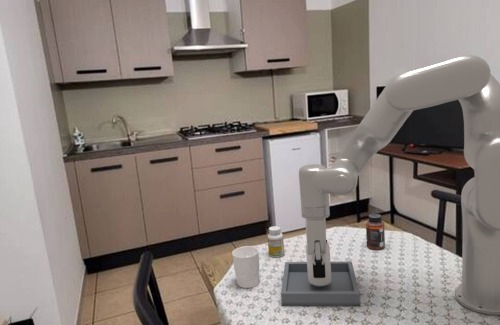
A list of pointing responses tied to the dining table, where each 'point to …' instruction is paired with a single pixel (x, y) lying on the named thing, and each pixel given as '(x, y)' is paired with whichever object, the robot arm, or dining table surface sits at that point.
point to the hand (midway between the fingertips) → (319, 271)
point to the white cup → (246, 266)
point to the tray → (333, 294)
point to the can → (327, 262)
